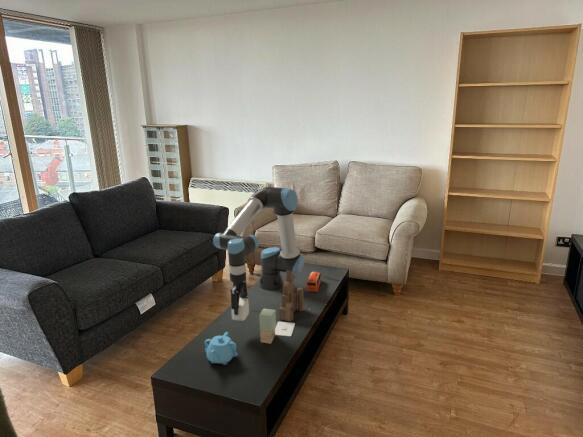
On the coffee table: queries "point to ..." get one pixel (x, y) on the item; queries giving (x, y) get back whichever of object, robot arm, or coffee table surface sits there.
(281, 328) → the page
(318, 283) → the toy bus
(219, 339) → the teapot
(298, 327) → the coffee table surface
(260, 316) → the sage block
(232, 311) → the cream block
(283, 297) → the wooden toy
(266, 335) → the maple base block
